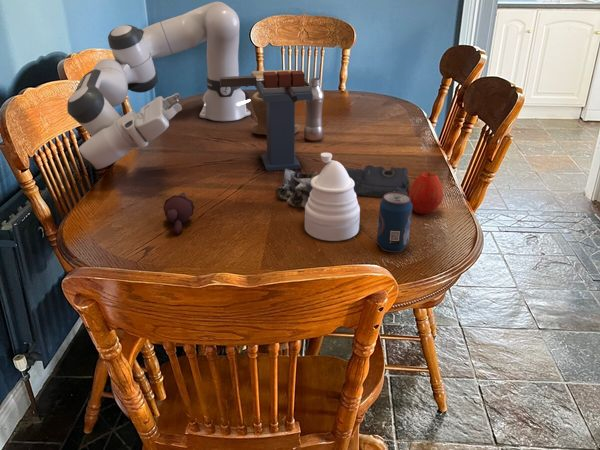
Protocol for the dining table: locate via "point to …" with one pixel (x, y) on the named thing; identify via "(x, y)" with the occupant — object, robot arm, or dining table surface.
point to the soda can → (394, 221)
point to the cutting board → (260, 73)
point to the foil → (296, 188)
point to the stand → (281, 130)
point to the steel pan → (286, 90)
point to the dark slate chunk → (378, 180)
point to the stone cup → (262, 115)
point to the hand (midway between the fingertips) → (180, 100)
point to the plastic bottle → (314, 112)
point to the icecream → (178, 210)
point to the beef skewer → (267, 80)
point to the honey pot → (332, 204)
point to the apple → (426, 193)
